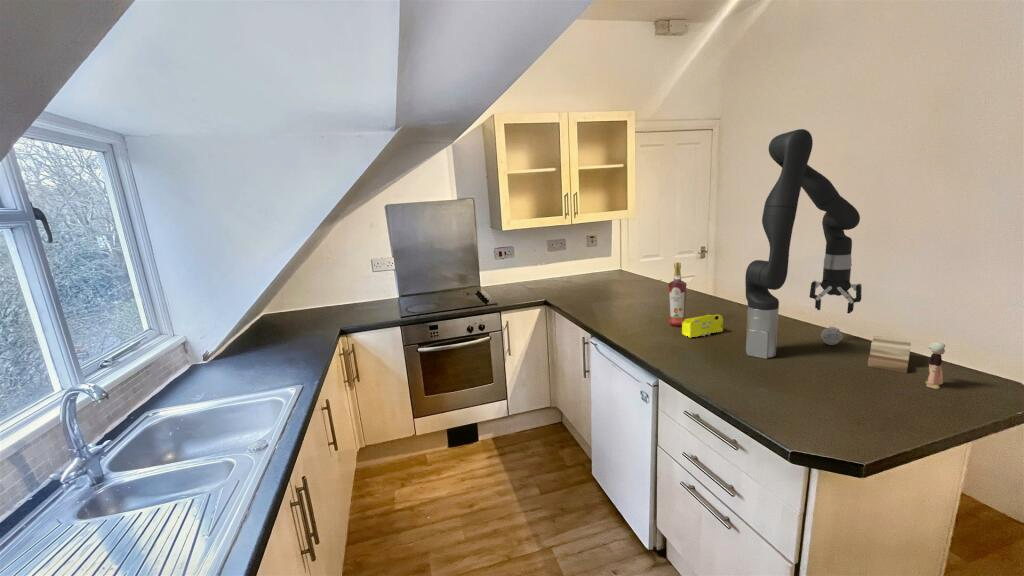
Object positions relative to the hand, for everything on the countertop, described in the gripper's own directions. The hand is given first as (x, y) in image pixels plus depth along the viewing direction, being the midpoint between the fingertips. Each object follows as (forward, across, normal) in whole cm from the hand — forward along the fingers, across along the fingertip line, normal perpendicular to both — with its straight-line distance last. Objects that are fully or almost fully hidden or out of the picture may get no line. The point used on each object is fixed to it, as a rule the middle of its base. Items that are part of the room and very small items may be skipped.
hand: (833, 311), depth 146 cm
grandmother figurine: (+13, +26, -22) cm, 36 cm away
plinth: (+13, +16, -9) cm, 22 cm away
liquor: (+12, -54, -5) cm, 56 cm away
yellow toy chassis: (+12, -41, -12) cm, 44 cm away
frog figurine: (+13, 0, 0) cm, 13 cm away
